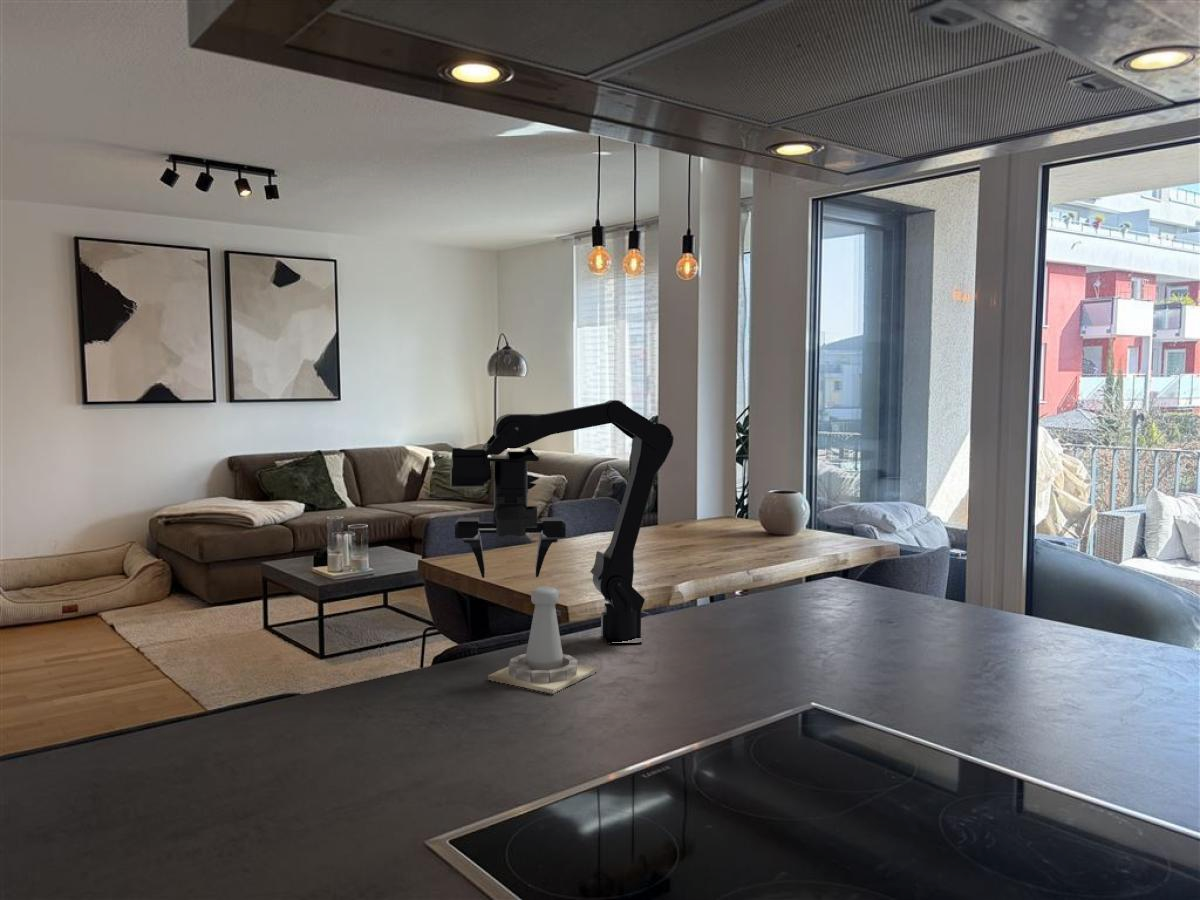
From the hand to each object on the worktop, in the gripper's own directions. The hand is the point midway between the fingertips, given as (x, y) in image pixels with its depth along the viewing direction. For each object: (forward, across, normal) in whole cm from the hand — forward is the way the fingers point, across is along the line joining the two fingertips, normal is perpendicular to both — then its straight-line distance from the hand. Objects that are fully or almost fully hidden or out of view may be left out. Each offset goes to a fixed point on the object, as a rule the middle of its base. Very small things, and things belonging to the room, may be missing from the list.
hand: (510, 577), depth 151 cm
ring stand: (+12, +5, -17) cm, 22 cm away
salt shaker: (+11, +5, -17) cm, 21 cm away
